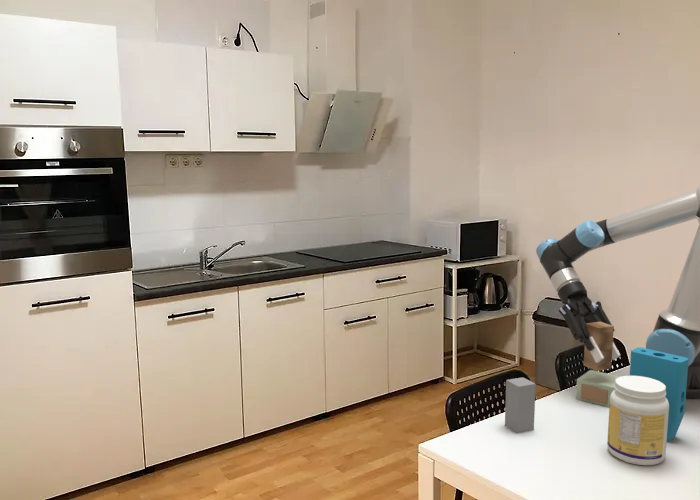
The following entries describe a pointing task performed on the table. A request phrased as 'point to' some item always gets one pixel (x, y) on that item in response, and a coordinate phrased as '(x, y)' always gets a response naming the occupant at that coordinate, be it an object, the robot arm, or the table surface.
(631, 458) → the supplement tub
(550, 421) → the table surface
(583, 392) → the base block
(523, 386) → the slate block
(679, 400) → the block
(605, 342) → the walnut block
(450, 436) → the table surface
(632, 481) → the table surface
